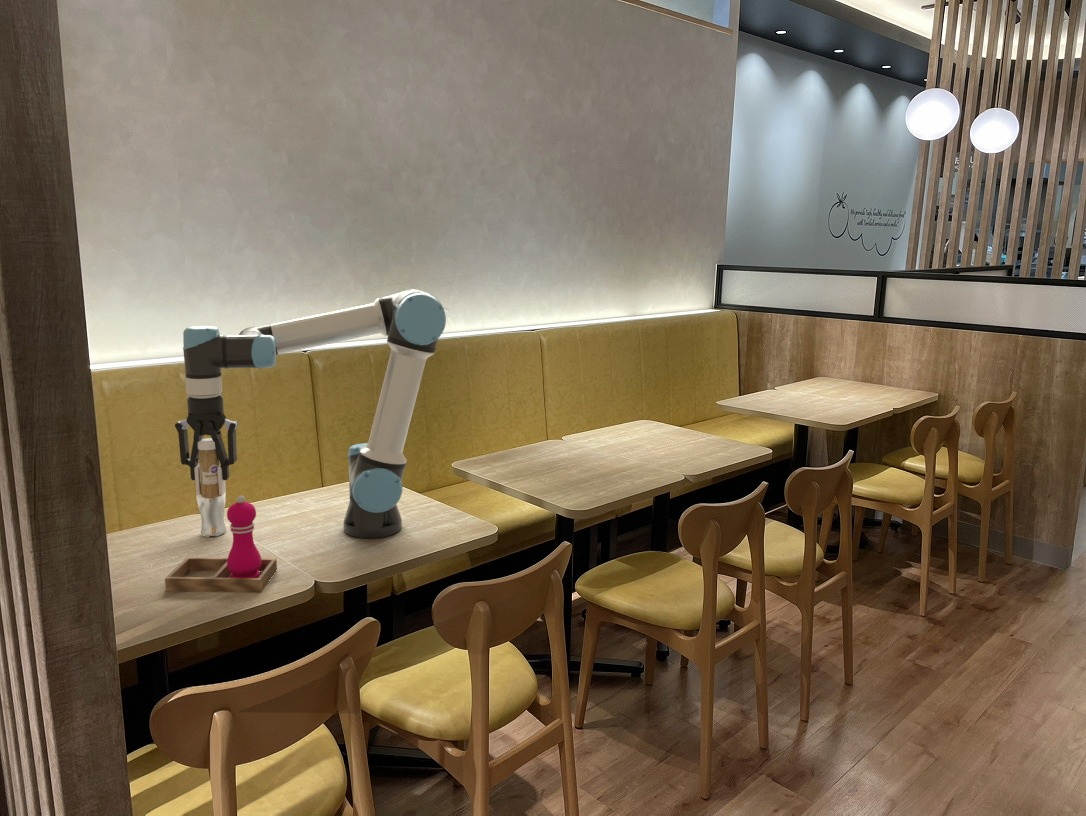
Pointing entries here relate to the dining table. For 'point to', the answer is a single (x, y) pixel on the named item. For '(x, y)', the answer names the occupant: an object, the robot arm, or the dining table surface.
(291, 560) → the dining table surface
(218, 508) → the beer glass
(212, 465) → the sprinkles bottle
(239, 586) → the caddy
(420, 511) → the dining table surface
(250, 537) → the pepper mill
